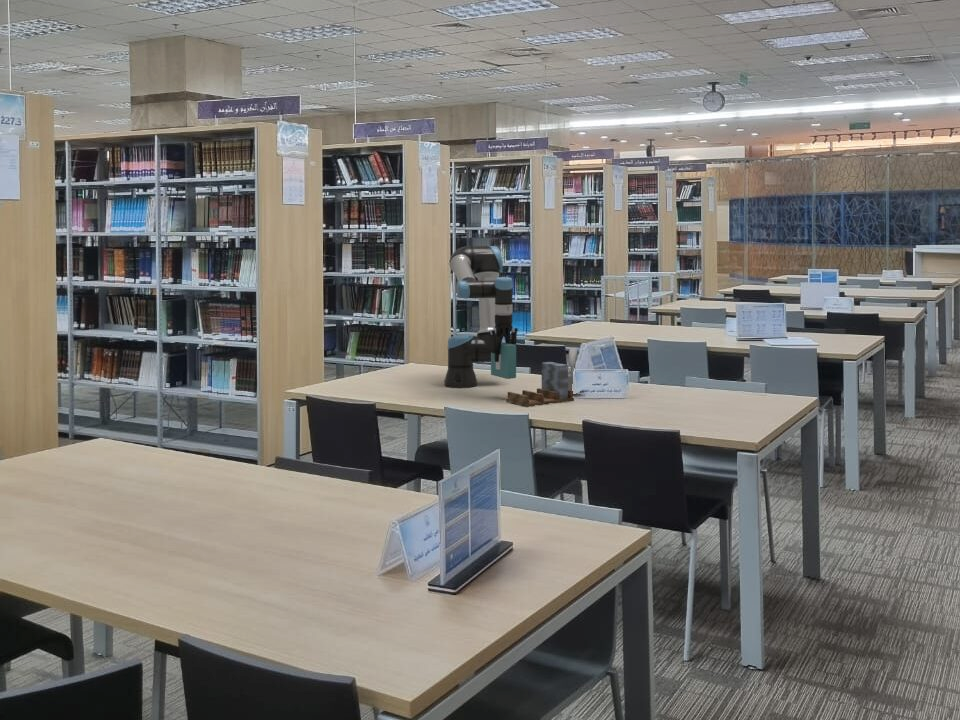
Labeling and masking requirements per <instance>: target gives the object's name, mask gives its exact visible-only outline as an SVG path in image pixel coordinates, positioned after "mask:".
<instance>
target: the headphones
mask: <svg viewBox="0 0 960 720" xmlns="http://www.w3.org/2000/svg"><path fill="white" fill-rule="evenodd" d="M578 352H579V350H578V348H576V347H571V348H569V350H568V363H569V366H570V370H568V390H572V384H573V371H574V368H575V369H576V362H577V360H578V354H579V353H578Z"/></svg>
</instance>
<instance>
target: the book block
mask: <svg viewBox="0 0 960 720" xmlns="http://www.w3.org/2000/svg"><path fill="white" fill-rule="evenodd" d="M499 354H501V370H498V369H496V362H495V354H493V353H491V362H490V375H491V376H495V377H498V378H502V379H505V380H506V379H507V380H510V379H517V344H516V345H513V344H508V343H504V342H502V343H501V348H500V353H499Z"/></svg>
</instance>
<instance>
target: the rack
mask: <svg viewBox="0 0 960 720" xmlns="http://www.w3.org/2000/svg"><path fill="white" fill-rule="evenodd" d="M568 372H569V365H568V364H564V363H560V362H553V361H545V362H541V388H536V392H535V391H530V390H526V389H523V390H522V394H520V393H515V392H512V391H507V398H506V400H505V401H506V403H508V404H511V405H512V404H513V405H516V406H521V407H524V406H525V408H529V406H531V407H536V406H535V405H538V406H544V405H543V404H546V405H550V404H549V403H553V404H558V402H560V403H566V402H574V401H575V397H573V396H574V394H573V391H572V390H568Z"/></svg>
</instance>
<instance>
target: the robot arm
mask: <svg viewBox="0 0 960 720" xmlns="http://www.w3.org/2000/svg"><path fill="white" fill-rule="evenodd" d="M503 264H504V263H503V257H502V252H501V250H500V248H499V247H498V246H495V245H493V246H492V245H480V246H479V245H471V246H470V245H467V246H465V245H464V246H462V247H460V248H458V249H456V250H455V251H454V252H453V253H452V254H451V256H450V258H449V267H450V269H451V271H452V272H453V273H454V274H455V277H456V279H457V282H456V286H455V287H456V290H455V291H456V296H457V298H458V299H467V300H468V299H478V313H479V330H478V331H477V332H476V336H474V335H473V334H472V333H461V334H456V335H452V336H450V337H449V338H448V340H447V370H446V373H445V376H444V377H445V378H444V381H443V382H444V383H443V384H444V386H445V387H447V388H448V387H449V388H460V389H462V388H464V389H465V388H472V387H477V386H478V379H477V375H476V373H475V370H474V363H491V353H493V354H495V362H496V369H498V370H501V354H499V353H500V348H501V343H502V342H504V343H508V344H513V345H516V346H517V337H518V336H517V334H518V332H519V331H518V330H519V329H518V327H513V315H512V314H513V298H514V297H513V294H514V293H513V292H514V290H513V289H514V283H513V278H512V277H509V276H508V277H506V276H501V277H499V276H500V272H501V271H502V270H503V267H504V266H503Z"/></svg>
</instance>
